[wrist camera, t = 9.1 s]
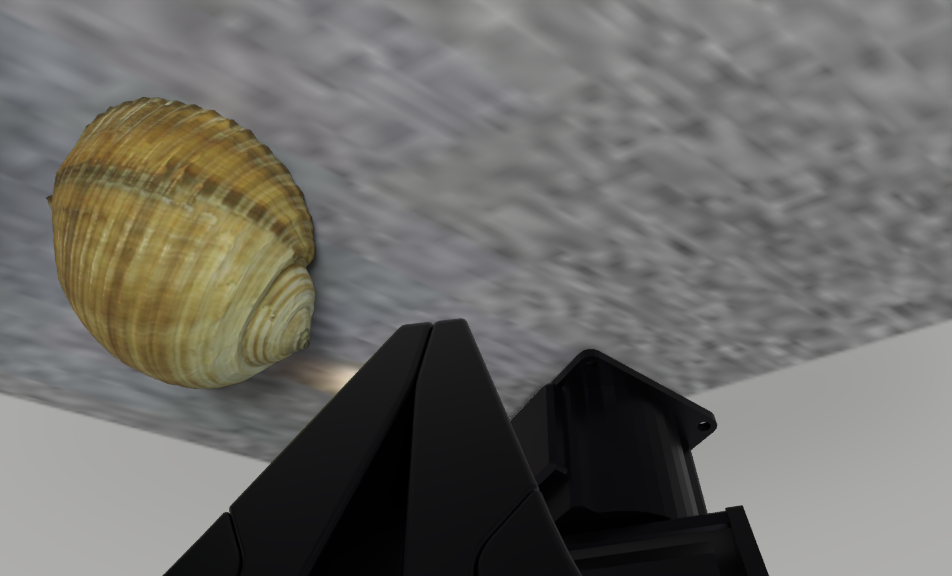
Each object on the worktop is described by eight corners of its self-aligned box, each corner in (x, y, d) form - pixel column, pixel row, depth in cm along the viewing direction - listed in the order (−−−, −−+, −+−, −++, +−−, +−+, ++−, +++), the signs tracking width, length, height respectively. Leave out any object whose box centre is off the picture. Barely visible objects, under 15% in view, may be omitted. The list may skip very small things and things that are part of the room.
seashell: (152, 138, 26) (31, 322, 24) (65, 18, 19) (-116, 259, 17) (382, 240, 26) (283, 435, 24) (376, 156, 19) (237, 418, 17)
